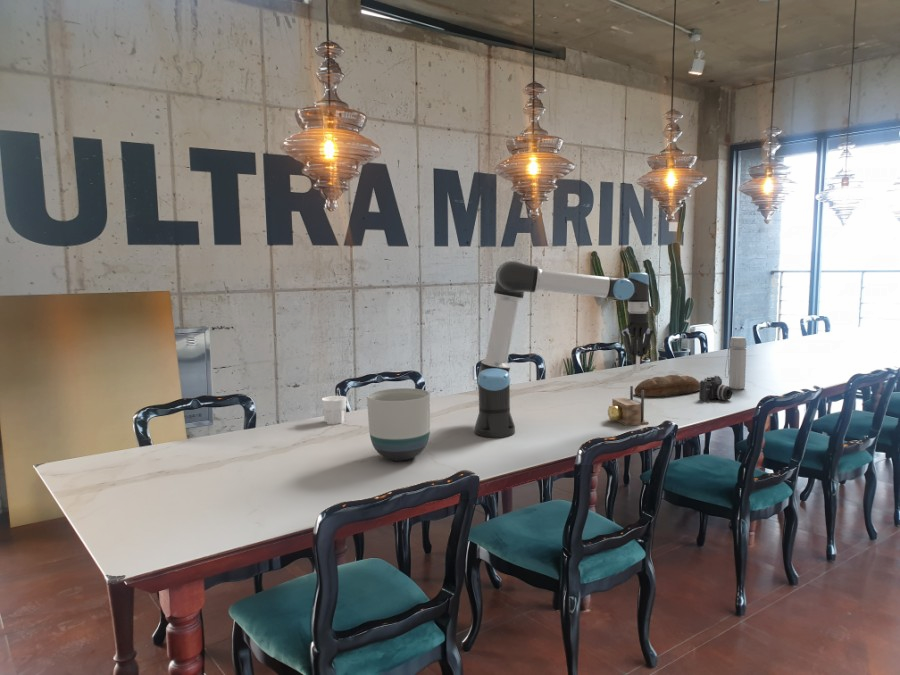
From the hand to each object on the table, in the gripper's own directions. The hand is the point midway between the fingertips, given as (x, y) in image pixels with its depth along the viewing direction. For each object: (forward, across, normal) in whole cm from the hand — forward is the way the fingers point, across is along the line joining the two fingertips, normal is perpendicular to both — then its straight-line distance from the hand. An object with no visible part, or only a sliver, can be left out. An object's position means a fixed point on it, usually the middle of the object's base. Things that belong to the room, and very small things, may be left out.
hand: (636, 372), depth 238 cm
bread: (+19, +40, +44) cm, 62 cm away
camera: (+19, +52, +24) cm, 60 cm away
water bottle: (+19, +76, +43) cm, 89 cm away
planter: (+21, -96, -22) cm, 101 cm away
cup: (+22, -117, +33) cm, 123 cm away
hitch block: (+19, -2, 0) cm, 20 cm away
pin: (+19, -4, 0) cm, 19 cm away
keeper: (+18, +1, 0) cm, 18 cm away
